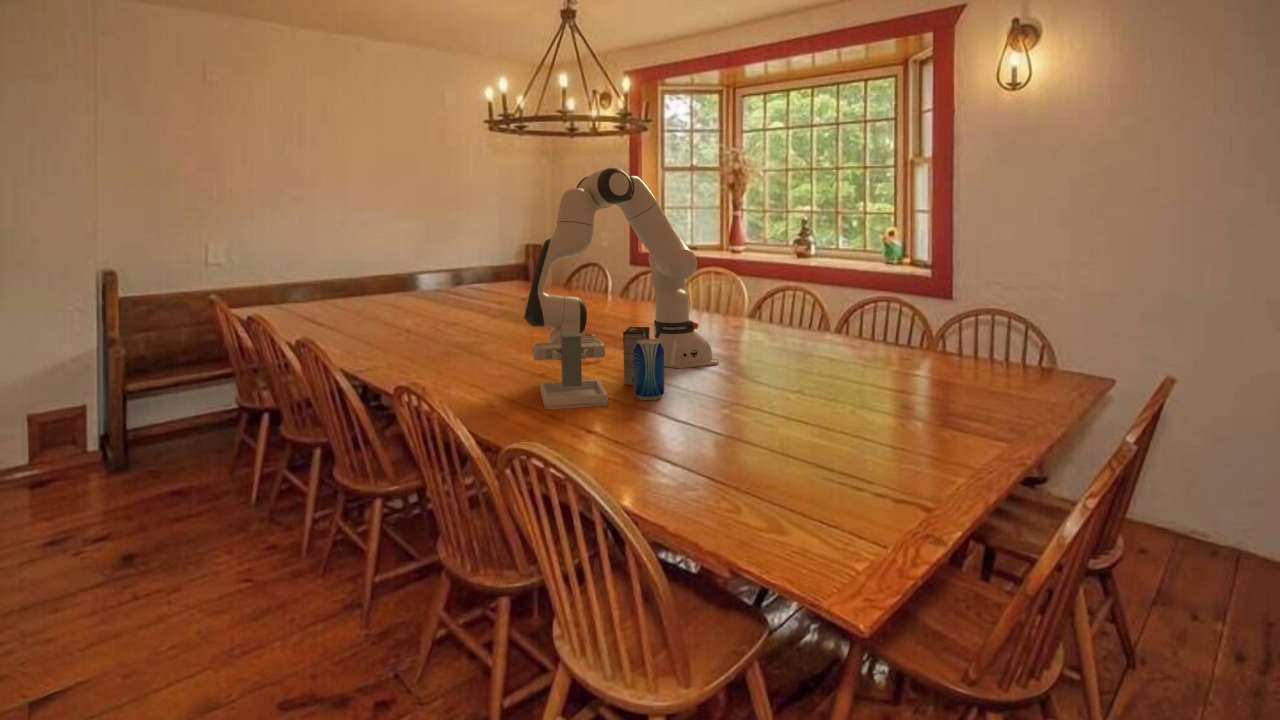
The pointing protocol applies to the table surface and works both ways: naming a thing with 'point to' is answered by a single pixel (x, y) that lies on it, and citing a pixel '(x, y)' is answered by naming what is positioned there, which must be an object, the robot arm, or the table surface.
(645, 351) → the beer can
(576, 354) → the slate block
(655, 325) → the robot arm
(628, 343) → the coffee box
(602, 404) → the bin
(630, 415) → the table surface
